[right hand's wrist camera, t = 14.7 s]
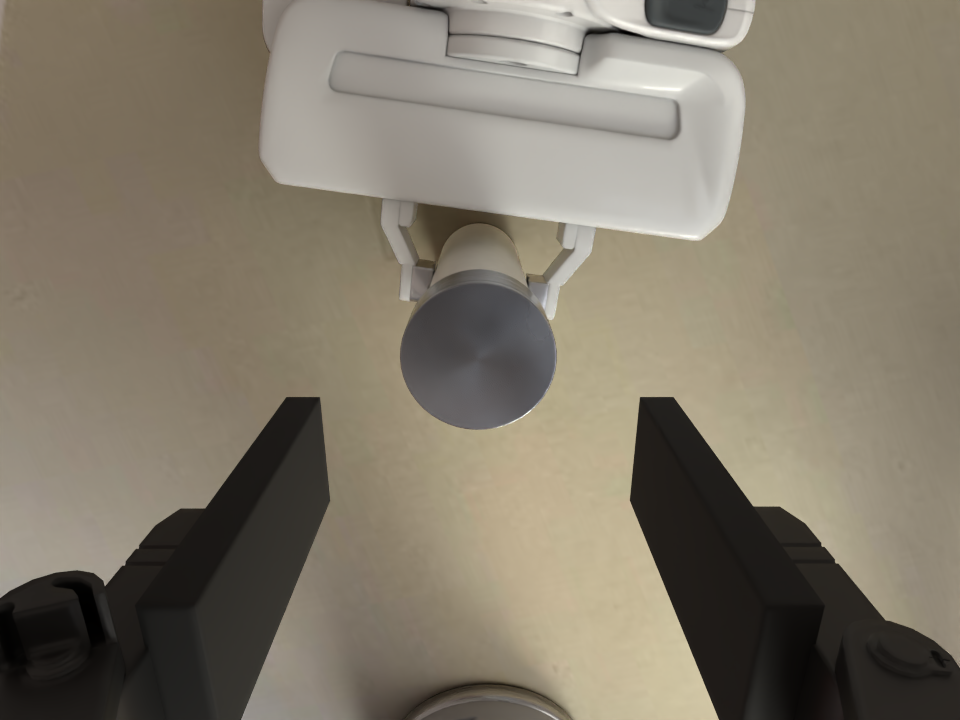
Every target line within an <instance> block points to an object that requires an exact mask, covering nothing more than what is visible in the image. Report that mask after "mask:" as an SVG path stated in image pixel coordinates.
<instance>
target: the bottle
mask: <svg viewBox="0 0 960 720" xmlns="http://www.w3.org/2000/svg"><path fill="white" fill-rule="evenodd" d="M473 269H484V270H492V271H497V272H500V273H503V274H506V275H509V276H511V277H513V278H515V279H516V280H518V281H519V282H521V283H522V284H524V285H525V286H526V287H527V288H528V286H527V283H526V279H525V276H524V273H523V270H522V266H521V263H520V260H519V257H518V254H517V250H516V248H515V245H514V244H513V242H512V240H511V239H510V238H509V237H508V235H507V234H505V233H504V232H503V231H502V230H500V229H498V228H497V227H494V226H492V225H488V224H482V223H477V224H470V225H467V226H464V227H462V228H460V229H458V230H457V231H455V232H454V233H453V234H452V235H451V236H450V237H449V238H448V239H447V241H446V242H445V244H444V246H443V248H442V251H441V254H440V257H439V260H438V264H437V267H436V270H435V273H434V276H433V279H432V282H431V285H430V287H431V286H432V285H433V284H435V283H436V282H438V281H439V280H441V279H442V278H444V277H447V276H449V275H451V274H454V273H457V272H460V271H465V270H473Z"/></svg>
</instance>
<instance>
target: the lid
mask: <svg viewBox="0 0 960 720" xmlns="http://www.w3.org/2000/svg"><path fill="white" fill-rule="evenodd" d="M400 362H401V369H402V373H403V377H404V380H405V382H406V385H407V387H408V389H409V391H410V392H411V394H412V395H413V397H414V398H415V400H416V401H417V402H418V403H419V404H420V405H421V406H422V407H423V408H424V409H425V410H426V411H427V412H428V413H430V414H431V415H432V416H434V417H436V418H437V419H439V420H441V421H443V422H445V423H447V424H450V425H453V426H456V427H460V428H465V429H475V430H482V429H492V428H497V427H501V426H504V425H507V424H510V423H512V422H514V421H516V420H518V419H520V418H521V417H523V416H525V415H526V414H527V413H529V412H530V411H531V410H532V409H533V408H534V407H535V406H536V405H537V404H538V403H539V402H540V401H541V400H542V398H543V397H544V396H545V394H546V392H547V391H548V389H549V387H550V385H551V382H552V380H553V377H554V373H555V369H556V362H557V350H556V343H555V339H554V335H553V332H552V329H551V326H550V324H549V321H548V318H547V316H546V313H545V311H544V309H543V307H542V305H541V303H540V302H539V300H538V299H537V297H536V296H535V295H534V294H533V293H532V291H531V290H529V289H528V288H527V287H526V286H525V285H524V284H522V283H521V282H519V281H518V280H516V279H515V278H513V277H511V276H509V275H506V274H503V273H500V272H497V271H492V270H484V269H473V270H465V271H460V272H457V273H454V274H451V275H449V276H447V277H444V278H442V279H441V280H439V281H438V282H436V283H435V284H433V285H432V286H431V287H430V288H429V289H427V291H426V292H425V293H424V294H423V295H422V296H421V297H420V299H419V300H418V302H417V303H416V305H415V307H414V309H413V311H412V313H411V316H410V319H409V321H408V324H407V326H406V329H405V332H404V335H403V338H402V343H401V349H400Z"/></svg>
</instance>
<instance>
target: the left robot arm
mask: <svg viewBox="0 0 960 720" xmlns="http://www.w3.org/2000/svg"><path fill="white" fill-rule="evenodd" d="M754 10H755V0H410V6H409V0H263V9H262V31H263V37H264V42H265V44H266V47H267V49H268V51H269V53H270V56H269V61H268V67H267V72H266V78H265V85H264V92H263V99H262V109H261V118H260V131H259V157H260V159H261V162H262V163H263V165H264V166H265V167H266V169H267V170H268V172H269V173H270V175H271V176H272V178H273V179H274V180H275V181H276V182H277V183H280V184H285V185H291V186H299V187H306V188H313V189H321V190H328V191H335V192H342V193H350V194H357V195H364V196H372V197H379V198H382V210H381V223H380V224H381V226H382V228H383V230H384V233H385V235H386V237H387V239H388V241H389V243H390V245H391V247H392V250H393V252H394V254H395V256H396V258H397V260H398V262H399V264H402V268H401V279H400V291H399V300H403V301H412V302H418V300H419V299H420V297H421V296H422V295H423V294H424V293H425V292H426V291H427V289H429V288H430V285H431V282H432V279H433V276H434V273H435V265H436V261H429V260H423V259H419V256H418V254H417V251H416V249H415V247H414V244H413V242H412V239H411V237H410V235H409V232H408V230H407V228H406V227H410V226H411V225H412V224H413V223H414V221H415V220H416V215H417V206H418V203H423V204H430V205H437V206H444V207H452V208H459V209H466V210H474V211H481V212H488V213H495V214H503V215H510V216H517V217H525V218H532V219H539V220H546V221H554V222H559V225H558V232H557V240H558V241H559V243H560V244H561V245H562V247H563V250H562V251H561V252H560V254H559V255H558V256H557V257H556V259H555V260H554V261H553V262H552V264H551V265H550V266H549V267H548V269H547V270H546V271H545V273H544V274H543V275H535V274H526V283H527V286H528V289H529V290H531V291H532V293H533V294H534V295H535V296H536V297H537V299H538V300H539V302H540V303H541V305H542V307H543V309H544V311H545V313H546V316H547V318H548V319H549V320H553V318H554V316H555V311H556V306H557V300H558V295H559V290H560V285H564V284H565V283H566V281H567V280H568V279H569V278H570V277H571V276H572V274H573V273H574V272H575V271H576V270H577V269H578V267H579V266H580V265H581V264H582V263H583V262H584V260H585V259H586V258H587V257H588V256H589V255H590V254H591V251H592V246H593V241H594V236H595V231H596V227H597V228H605V229H612V230H619V231H627V232H634V233H641V234H648V235H656V236H663V237H670V238H678V239H685V240H693V241H699V240H702V239H703V238H704V237H706V236H707V235H708V234H709V233H710V232H711V231H713V230H714V229H715V228H716V227H717V226H718V225H719V224H720V223H721V222H722V220H723V219H724V217H725V214H726V211H727V208H728V205H729V201H730V197H731V193H732V189H733V184H734V180H735V175H736V170H737V165H738V160H739V153H740V147H741V141H742V133H743V126H744V117H745V105H746V101H745V88H744V83H743V79H742V76H741V74H740V72H739V70H738V68H737V67H736V65H735V64H734V63H733V62H732V61H731V60H730V59H729V58H728V57H727V56H725V55H724V54H722V52H724V51H726V50H728V49H730V48H732V47H734V46H735V45H737V44H738V43H740V42H741V41H742V40H743V39H744V37H745V36H746V34H747V32H748V30H749V27H750V25H751V21H752V18H753V14H754Z"/></svg>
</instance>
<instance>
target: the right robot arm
mask: <svg viewBox="0 0 960 720" xmlns="http://www.w3.org/2000/svg"><path fill="white" fill-rule="evenodd" d="M329 502H330V495H329V485H328V474H327V464H326V454H325V444H324V434H323V423H322V413H321V403H320V397H286V399H285V400H284V401H283V403H282V404H281V405H280V407H279V408H278V410H277V411H276V412H275V414H274V415H273V416H272V418H271V419H270V421H269V422H268V423H267V425H266V426H265V427H264V429H263V430H262V432H261V433H260V434H259V436H258V437H257V438H256V440H255V441H254V443H253V444H252V445H251V447H250V448H249V449H248V451H247V452H246V453H245V455H244V456H243V458H242V459H241V460H240V462H239V463H238V464H237V466H236V467H235V469H234V470H233V471H232V473H231V474H230V475H229V477H228V478H227V480H226V481H225V482H224V484H223V485H222V486H221V488H220V489H219V491H218V492H217V493H216V495H215V496H214V497H213V499H212V500H211V501H210V503H209V504H208V506H207V507H206V508H205V509H179V510H178V511H176V512H175V513H173V514H172V515H170V516H169V517H167V518H166V519H164V520H163V521H161V522H160V523H158V524H157V525H155V527H154V528H153V529H152V530H151V532H150V533H149V534H148V535H147V536H146V538H145V539H144V540H143V541H142V542H141V544H140V545H139V549H136V550H135V551H134V552H133V553H132V555H131V556H130V557H129V558H128V559H127V561H126V564H125V566H122V567H121V568H120V569H119V570H118V572H117V573H116V574H115V575H114V576H113V578H112V579H111V580H110V581H109V582H108V584H107V585H106V586H104V582H103V580H102V579H100V578H99V577H98V576H97V575H95V574H94V573H90V572H84V571H78V570H76V571H67V572H58V573H53V574H50V575H47V576H43V577H40V578H37V579H34V580H31V581H29V582H27V583H25V584H23V585H21V586H19V587H17V588H15V589H13V590H11V591H9V592H8V593H7V594H5V595H4V596H3V597H1V598H0V720H241V718H242V716H243V713H244V711H245V708H246V706H247V703H248V701H249V698H250V696H251V693H252V691H253V689H254V686H255V684H256V681H257V679H258V676H259V674H260V671H261V669H262V666H263V664H264V662H265V659H266V657H267V654H268V652H269V649H270V647H271V644H272V642H273V639H274V637H275V634H276V632H277V630H278V627H279V625H280V622H281V620H282V617H283V615H284V612H285V610H286V607H287V605H288V603H289V600H290V598H291V595H292V593H293V590H294V588H295V585H296V583H297V580H298V578H299V576H300V573H301V571H302V568H303V566H304V563H305V561H306V558H307V556H308V553H309V551H310V548H311V546H312V544H313V541H314V539H315V536H316V534H317V531H318V529H319V526H320V524H321V521H322V519H323V517H324V514H325V512H326V509H327V507H328V504H329ZM630 502H631V504H632V507H633V509H634V512H635V514H636V517H637V519H638V521H639V524H640V526H641V529H642V531H643V534H644V536H645V539H646V541H647V544H648V546H649V548H650V551H651V553H652V556H653V558H654V561H655V563H656V566H657V568H658V571H659V573H660V576H661V578H662V580H663V583H664V585H665V588H666V590H667V593H668V595H669V598H670V600H671V603H672V605H673V607H674V610H675V612H676V615H677V617H678V620H679V622H680V625H681V627H682V630H683V632H684V634H685V637H686V639H687V642H688V644H689V647H690V649H691V652H692V654H693V657H694V659H695V662H696V664H697V666H698V669H699V671H700V674H701V676H702V679H703V681H704V684H705V686H706V689H707V691H708V693H709V696H710V698H711V701H712V703H713V706H714V708H715V711H716V713H717V716H718V718H719V720H960V668H959V666H958V665H957V663H956V662H955V660H954V659H953V657H952V656H951V655H950V654H949V653H948V652H946V651H945V650H944V649H943V648H942V647H941V646H939V645H938V644H937V643H936V642H935V641H933V640H931V639H930V638H928V637H926V636H924V635H923V634H921V633H919V632H917V631H915V630H914V629H911V628H909V627H906V626H903V625H900V624H897V623H894V622H891V621H885V619H884V618H883V617H882V616H881V615H880V613H879V612H878V611H877V610H876V608H875V607H874V606H873V605H872V604H871V602H870V601H869V600H868V599H867V598H866V596H865V595H864V594H863V593H862V592H861V590H860V589H859V588H858V587H857V586H856V584H855V583H854V582H853V581H852V580H851V578H850V577H849V576H848V575H847V574H846V572H845V571H844V570H843V569H842V568H841V566H840V565H839V564H836V563H835V559H834V558H833V557H832V555H831V554H830V553H829V552H828V551H827V549H826V548H825V547H822V546H821V542H820V541H819V540H818V539H817V537H816V536H815V535H814V534H813V533H812V531H811V530H810V529H809V528H808V527H807V525H806V524H805V523H803V522H802V521H800V520H799V519H797V518H796V517H794V516H793V515H791V514H790V513H788V512H787V511H785V510H784V509H782V508H781V507H753V506H752V504H751V503H750V501H749V500H748V499H747V497H746V496H745V495H744V493H743V492H742V491H741V489H740V488H739V486H738V485H737V484H736V482H735V481H734V480H733V478H732V477H731V475H730V474H729V473H728V471H727V470H726V469H725V467H724V466H723V464H722V463H721V462H720V460H719V459H718V458H717V456H716V455H715V453H714V452H713V451H712V449H711V448H710V447H709V445H708V444H707V443H706V441H705V440H704V438H703V437H702V436H701V434H700V433H699V432H698V430H697V429H696V427H695V426H694V425H693V423H692V422H691V421H690V419H689V418H688V416H687V415H686V414H685V412H684V411H683V410H682V408H681V407H680V405H679V404H678V403H677V401H676V400H675V399H674V397H640V403H639V413H638V423H637V434H636V444H635V454H634V464H633V474H632V485H631V495H630ZM404 720H572V719H571V718H570V717H569V715H568V714H567V713H566V712H565V711H564V710H562V709H561V708H560V707H559V706H557V705H556V704H554V703H553V702H551V701H550V700H548V699H546V698H544V697H543V696H540V695H538V694H536V693H533V692H531V691H527V690H524V689H521V688H516V687H511V686H505V685H491V684H483V685H471V686H464V687H460V688H455V689H452V690H449V691H445V692H443V693H440V694H438V695H436V696H434V697H432V698H430V699H428V700H426V701H425V702H423V703H421V704H420V705H419V706H417V707H416V708H415V709H414V710H412V711H411V712H410V713H409V714H408V715H407V716H406V718H405V719H404Z"/></svg>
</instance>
